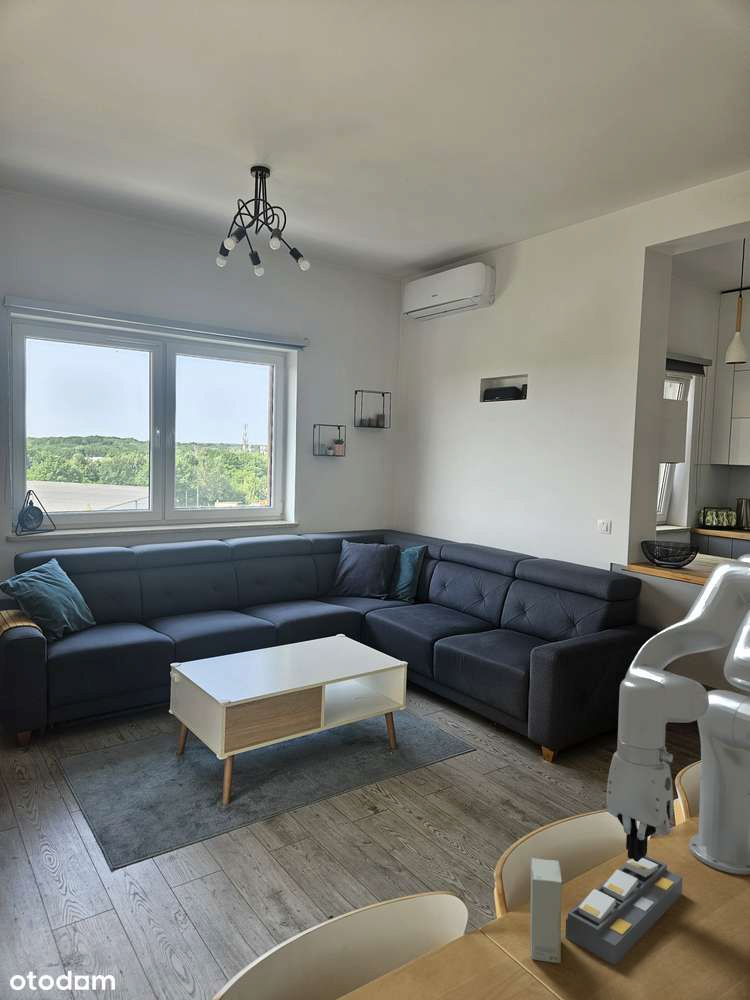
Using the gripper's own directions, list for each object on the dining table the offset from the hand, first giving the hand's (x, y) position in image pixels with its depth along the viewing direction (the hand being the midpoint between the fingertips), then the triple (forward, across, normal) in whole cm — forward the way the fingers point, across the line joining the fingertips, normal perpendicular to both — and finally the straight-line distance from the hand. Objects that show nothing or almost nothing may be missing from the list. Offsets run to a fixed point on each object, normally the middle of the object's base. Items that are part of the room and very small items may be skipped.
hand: (636, 856), depth 112 cm
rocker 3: (+2, 0, -2) cm, 3 cm away
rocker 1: (+3, 0, +14) cm, 14 cm away
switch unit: (+7, -1, +6) cm, 9 cm away
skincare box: (+7, +4, +23) cm, 24 cm away
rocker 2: (+3, 0, +6) cm, 6 cm away
